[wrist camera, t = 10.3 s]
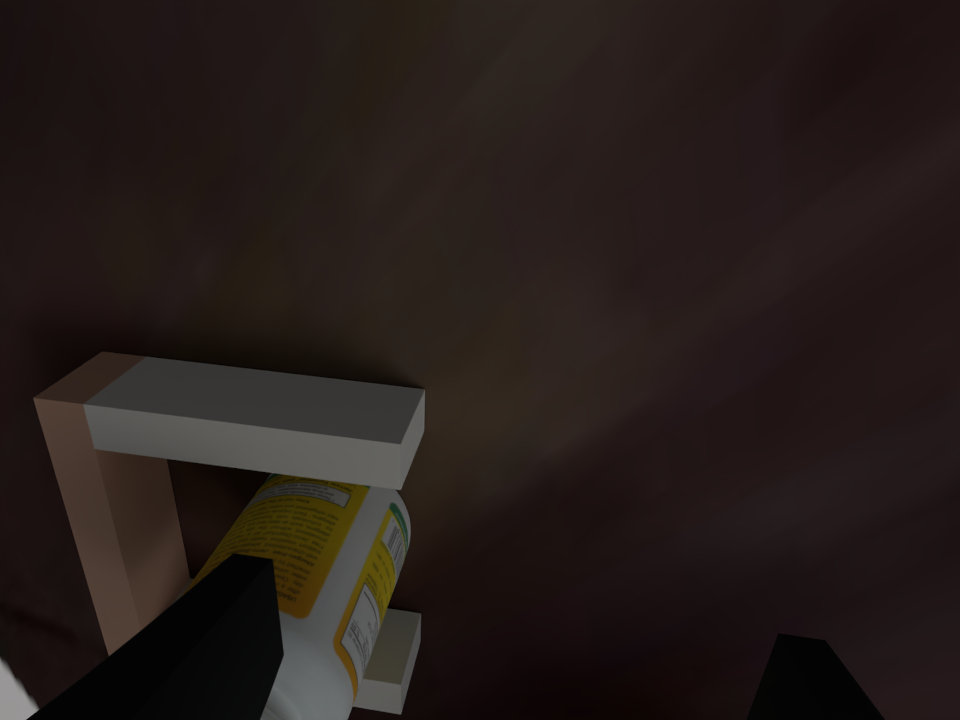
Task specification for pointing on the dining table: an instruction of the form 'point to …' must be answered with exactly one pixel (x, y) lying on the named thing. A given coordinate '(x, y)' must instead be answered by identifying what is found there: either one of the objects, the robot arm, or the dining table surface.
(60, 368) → the dining table surface
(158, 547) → the frame
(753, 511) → the dining table surface
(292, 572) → the supplement bottle
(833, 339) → the dining table surface
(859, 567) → the dining table surface
